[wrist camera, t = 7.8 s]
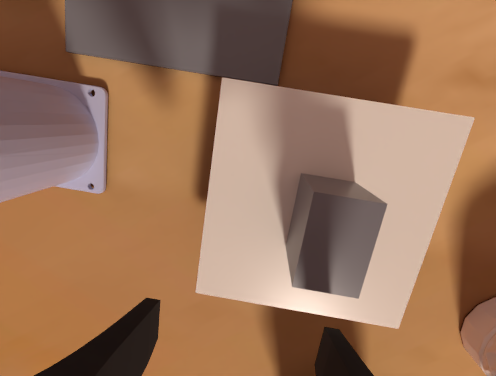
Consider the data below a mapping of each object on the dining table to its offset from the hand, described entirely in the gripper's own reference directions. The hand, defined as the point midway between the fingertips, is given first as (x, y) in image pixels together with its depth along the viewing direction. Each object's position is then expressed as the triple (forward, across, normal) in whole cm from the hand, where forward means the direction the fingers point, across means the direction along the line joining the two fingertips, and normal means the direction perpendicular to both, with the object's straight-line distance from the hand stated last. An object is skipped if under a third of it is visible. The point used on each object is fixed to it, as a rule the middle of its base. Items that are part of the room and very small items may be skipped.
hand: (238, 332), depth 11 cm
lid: (+6, -4, -4) cm, 8 cm away
